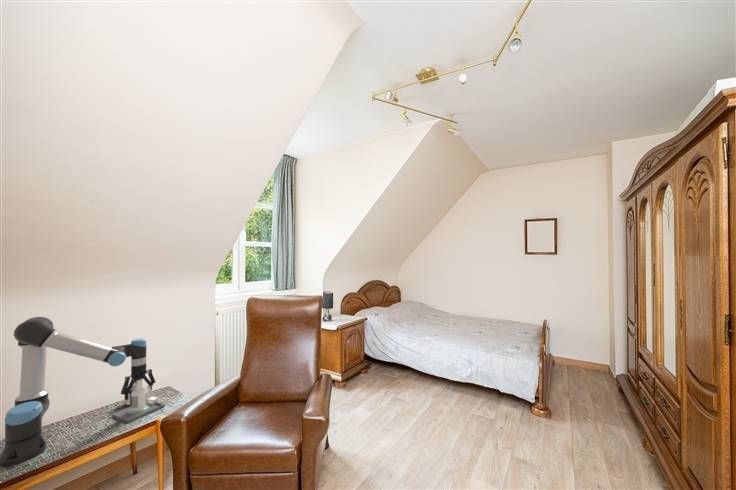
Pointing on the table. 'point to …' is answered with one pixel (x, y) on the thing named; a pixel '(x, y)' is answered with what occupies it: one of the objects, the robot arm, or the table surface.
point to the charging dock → (130, 415)
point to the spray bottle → (138, 396)
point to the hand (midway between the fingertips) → (138, 400)
